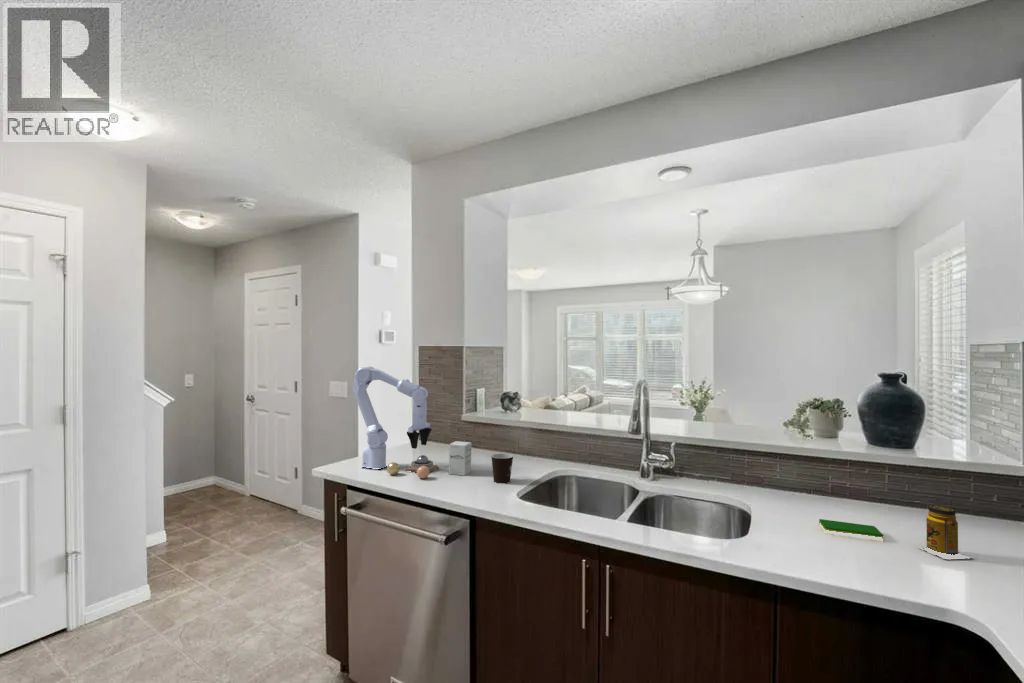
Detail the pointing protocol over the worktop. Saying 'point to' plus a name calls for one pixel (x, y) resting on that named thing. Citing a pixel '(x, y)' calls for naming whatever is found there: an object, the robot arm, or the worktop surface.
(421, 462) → the steel ball
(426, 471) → the terracotta ball
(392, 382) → the robot arm
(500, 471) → the coffee mug
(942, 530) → the condiment
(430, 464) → the race board
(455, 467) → the supplement box
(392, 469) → the brass ball
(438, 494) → the worktop surface
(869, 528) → the dish sponge
